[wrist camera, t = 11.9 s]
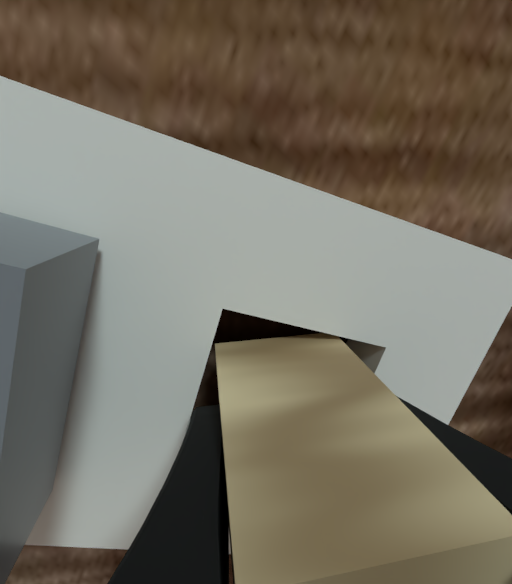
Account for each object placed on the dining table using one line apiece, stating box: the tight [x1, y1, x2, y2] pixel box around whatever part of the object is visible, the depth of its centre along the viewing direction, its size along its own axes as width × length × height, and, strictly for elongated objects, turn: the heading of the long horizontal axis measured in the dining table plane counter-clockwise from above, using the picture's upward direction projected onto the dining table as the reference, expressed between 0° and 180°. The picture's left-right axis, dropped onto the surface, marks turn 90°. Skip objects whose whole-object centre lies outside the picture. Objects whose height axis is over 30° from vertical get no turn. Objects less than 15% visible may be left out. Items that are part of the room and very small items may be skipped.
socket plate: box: [0, 76, 512, 554], centre depth 9 cm, size 18×12×2 cm, turn 73°
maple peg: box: [215, 333, 512, 584], centre depth 7 cm, size 4×4×6 cm
